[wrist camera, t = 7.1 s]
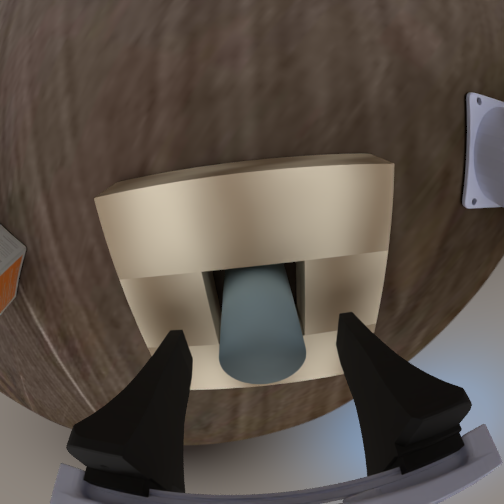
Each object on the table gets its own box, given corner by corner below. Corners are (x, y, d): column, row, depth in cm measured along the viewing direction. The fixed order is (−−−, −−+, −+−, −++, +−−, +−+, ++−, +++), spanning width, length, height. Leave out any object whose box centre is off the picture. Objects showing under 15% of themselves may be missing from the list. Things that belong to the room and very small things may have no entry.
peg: (284, 242, 17) (309, 323, 10) (284, 293, 18) (303, 380, 12) (222, 246, 17) (213, 329, 10) (227, 297, 18) (224, 385, 12)
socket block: (368, 153, 14) (394, 163, 12) (353, 341, 21) (365, 369, 18) (117, 182, 15) (93, 198, 12) (174, 359, 21) (168, 389, 18)
